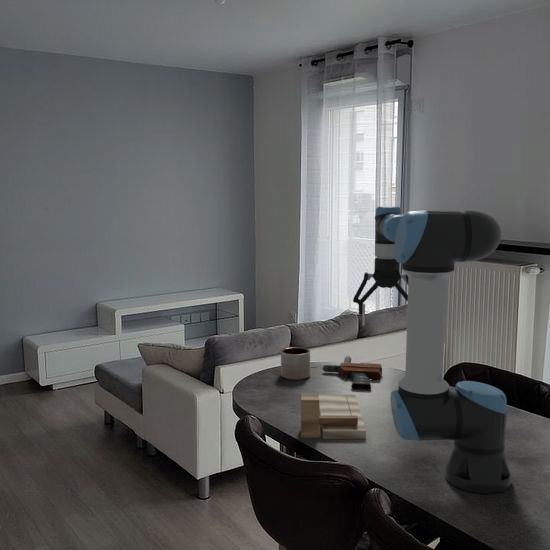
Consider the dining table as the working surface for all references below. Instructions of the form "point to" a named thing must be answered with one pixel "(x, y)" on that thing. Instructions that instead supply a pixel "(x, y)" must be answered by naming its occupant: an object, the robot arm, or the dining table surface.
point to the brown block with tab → (318, 417)
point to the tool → (356, 372)
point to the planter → (295, 363)
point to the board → (341, 407)
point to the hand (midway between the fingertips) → (385, 325)
